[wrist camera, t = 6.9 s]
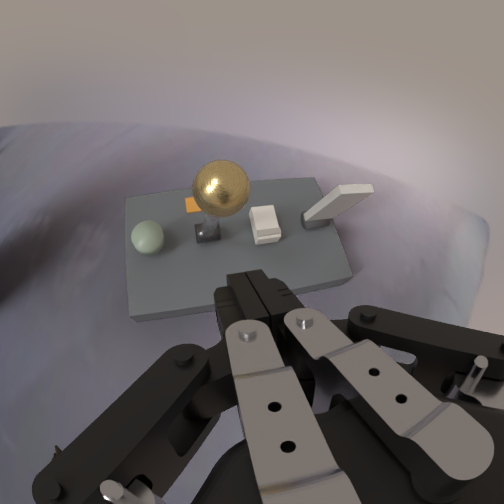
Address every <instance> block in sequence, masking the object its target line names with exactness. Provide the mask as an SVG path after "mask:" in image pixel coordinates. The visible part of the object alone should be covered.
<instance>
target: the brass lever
mask: <svg viewBox="0 0 504 504" xmlns="http://www.w3.org/2000/svg"><path fill="white" fill-rule="evenodd" d="M192 193H193V197H194V200H195V202H196V204H197V205H198V207H199V208H200V209H201V210H202V211H203V212H205V215H204V220H203V223H199V224H194V227H195V235H196V241H197V244H199V243H206V242H213V241H220V240H221V233H220V226H219V220H220V218H222V217H229V216H232V215H234V214H236V213H237V212H239V211H240V210H241V209H242V208H243V207H244V206H245V205H246V203H247V201H248V199H249V196H250V181H249V178H248V176H247V174H246V172H245V171H244V170H243V169H242V168H241V167H240V166H239V165H237V164H236V163H234V162H231V161H227V160H216V161H212V162H210V163H208V164H206V165H205V166H203V167H202V168H201V169H200V170H199V171H198V173H197V174H196V176H195V178H194V181H193V186H192Z"/></svg>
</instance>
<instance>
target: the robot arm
mask: <svg viewBox="0 0 504 504" xmlns="http://www.w3.org/2000/svg"><path fill="white" fill-rule="evenodd" d="M226 280H227V286H224V287H218V288H216V290H215V292H214V294H213V296H214V303H215V310H216V316H217V323H218V327H219V331H220V334H221V338H222V340H221V341H220V342H219V343H218V344H217V345H215V346H213V347H211V348H209V349H207V350H205V349H203V348H202V347H200V346H198V345H195V344H181V345H177V346H174V347H172V348H170V349H169V350H167V351H166V352H165V353H164V354H163V355H162V356H161V357H160V358H159V359H158V360H157V361H156V362H155V363H154V364H153V365H152V366H151V367H150V368H149V369H148V370H147V371H146V372H145V373H144V374H142V375H141V376H140V377H139V378H138V379H137V380H136V381H135V382H134V383H133V384H132V385H131V386H130V387H129V388H128V389H127V390H126V391H125V392H124V393H123V394H122V395H121V396H120V397H119V398H118V399H117V400H116V401H115V402H114V403H112V404H111V405H110V406H109V407H108V408H107V409H106V410H105V411H104V412H103V413H102V414H101V415H100V416H99V417H98V418H97V419H96V420H95V421H94V422H93V423H92V424H91V425H89V426H88V427H87V428H86V429H85V430H84V431H83V432H82V433H81V434H80V435H79V436H78V437H77V438H76V439H75V440H74V441H73V442H72V443H71V444H69V445H68V446H67V447H66V448H65V449H64V450H63V451H62V452H61V453H60V454H59V455H58V456H57V457H56V458H55V459H53V460H52V461H51V462H50V463H49V464H48V465H47V466H46V467H45V468H44V469H43V470H42V471H41V472H39V473H38V475H37V476H36V477H35V479H34V481H33V485H32V494H33V498H34V500H35V502H36V504H166V503H165V502H164V501H163V500H162V499H161V498H162V497H163V496H164V495H165V493H166V492H167V491H168V490H169V488H170V487H171V486H172V484H173V483H174V482H175V480H176V479H177V478H178V476H179V475H180V474H181V472H182V471H183V470H184V468H185V467H186V466H187V464H188V463H189V462H190V460H191V459H192V457H193V456H194V455H195V453H196V452H197V450H198V449H199V448H200V446H201V445H202V443H203V442H204V441H205V439H206V438H207V436H208V435H209V433H210V432H211V430H212V429H213V427H214V426H215V425H216V423H217V422H218V420H219V418H220V415H221V412H223V411H225V410H227V409H229V408H231V407H233V406H235V405H237V408H238V413H239V418H240V423H241V428H242V432H243V437H244V440H242V441H240V442H239V443H237V444H235V445H234V446H233V447H232V448H230V449H229V450H228V451H227V452H226V453H225V454H224V455H222V457H221V458H220V459H219V460H218V461H217V463H216V464H215V466H214V467H213V469H212V471H211V472H210V474H209V476H208V477H207V479H206V480H205V482H204V484H203V485H202V487H201V488H200V490H199V492H198V493H197V495H196V496H195V498H194V499H193V501H192V503H191V504H504V336H503V335H497V334H492V333H488V332H483V331H478V330H474V329H469V328H465V327H460V326H456V325H451V324H447V323H442V322H438V321H433V320H429V319H425V318H420V317H416V316H412V315H408V314H403V313H399V312H395V311H391V310H387V309H383V308H378V307H374V306H369V305H362V306H357V307H354V308H353V309H351V310H350V312H349V316H348V319H345V320H329V319H328V318H326V317H325V316H324V315H323V314H322V313H321V312H319V311H317V310H314V309H310V308H305V307H304V306H303V304H302V303H301V302H300V301H299V300H298V298H297V297H296V296H295V295H294V294H293V292H292V291H291V290H290V289H289V288H288V286H287V285H286V284H285V283H284V282H283V281H281V280H279V279H277V278H270V279H269V278H268V277H267V276H266V274H265V273H264V272H263V270H262V269H257V270H251V271H245V272H239V273H233V274H227V275H226ZM381 345H382V346H385V347H389V348H393V349H397V350H400V351H404V352H408V353H412V354H414V355H415V356H416V359H415V361H414V362H413V363H411V364H402V363H399V362H395V361H394V360H393V359H392V358H391V357H389V356H388V355H387V354H386V353H385V352H384V351H383V350H381V349H380V346H381Z"/></svg>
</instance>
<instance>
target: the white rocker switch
mask: <svg viewBox="0 0 504 504" xmlns="http://www.w3.org/2000/svg"><path fill="white" fill-rule="evenodd" d="M249 217H250V221H251V226H252V230H253V235H254V240H255V244H256V245H258V244H265V243H272V242H278V240H279V239H280V238H281V229H280V227H279V225H278V221H277V217H276V213H275V210H274V206H273V205H268V206H259V207H251V209H250V212H249Z"/></svg>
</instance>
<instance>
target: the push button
mask: <svg viewBox="0 0 504 504" xmlns="http://www.w3.org/2000/svg"><path fill="white" fill-rule="evenodd" d="M131 240H132V243H133V244H134V246H135V248H136V250H137V251H138V252H139V253H140V254H142V255H145V256H151V255H155V254H157V253H158V252H159V251H160V250H161V249H162V248H163V246H164V242H165V238H164V234H163V231H162V228H161V226H160V225H159V224H158V223H157V222H154V221H150V220H148V221H143V222H141V223H139V224H138V225H136V226H135V228H134V229H133V231H132V234H131Z"/></svg>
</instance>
